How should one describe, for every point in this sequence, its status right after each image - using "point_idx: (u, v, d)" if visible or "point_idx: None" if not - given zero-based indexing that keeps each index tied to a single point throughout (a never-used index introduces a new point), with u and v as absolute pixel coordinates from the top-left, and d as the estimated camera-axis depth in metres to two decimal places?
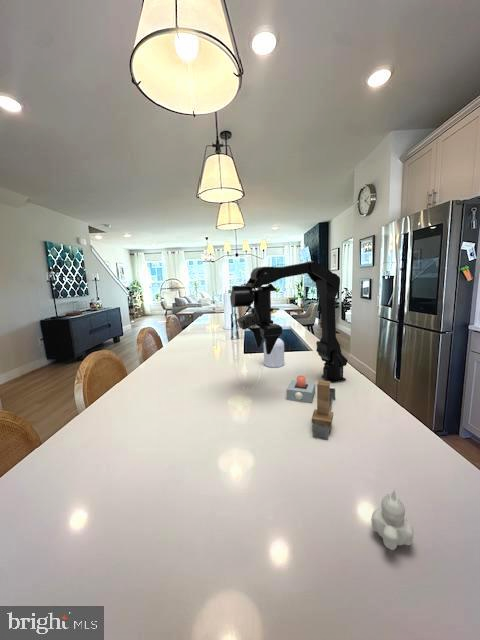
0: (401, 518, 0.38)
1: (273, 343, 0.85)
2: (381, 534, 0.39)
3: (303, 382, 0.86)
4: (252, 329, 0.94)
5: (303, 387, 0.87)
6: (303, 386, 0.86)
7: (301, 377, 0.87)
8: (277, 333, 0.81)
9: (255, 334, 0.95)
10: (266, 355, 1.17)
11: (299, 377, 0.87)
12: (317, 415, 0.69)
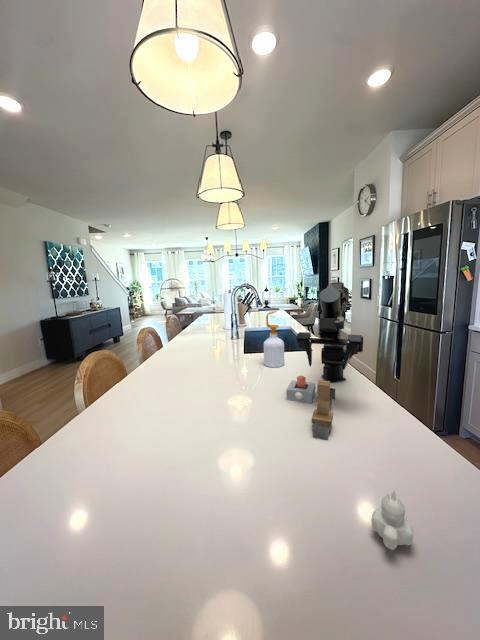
0: (401, 518, 0.38)
1: (349, 359, 0.76)
2: (381, 534, 0.39)
3: (303, 382, 0.86)
4: (310, 342, 0.80)
5: (303, 387, 0.87)
6: (303, 386, 0.86)
7: (301, 377, 0.87)
8: (362, 348, 0.77)
9: (310, 350, 0.80)
10: (266, 355, 1.17)
11: (299, 377, 0.87)
12: (317, 415, 0.69)
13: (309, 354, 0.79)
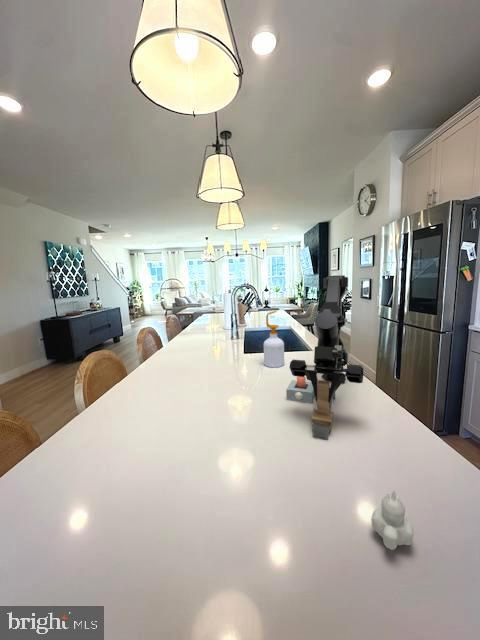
0: (401, 518, 0.38)
1: (335, 390, 0.70)
2: (381, 534, 0.39)
3: (303, 382, 0.86)
4: (316, 373, 0.71)
5: (303, 387, 0.87)
6: (303, 386, 0.86)
7: (301, 377, 0.87)
8: (362, 379, 0.70)
9: (316, 381, 0.71)
10: (266, 355, 1.17)
11: (299, 377, 0.87)
12: (317, 415, 0.69)
13: (315, 387, 0.70)
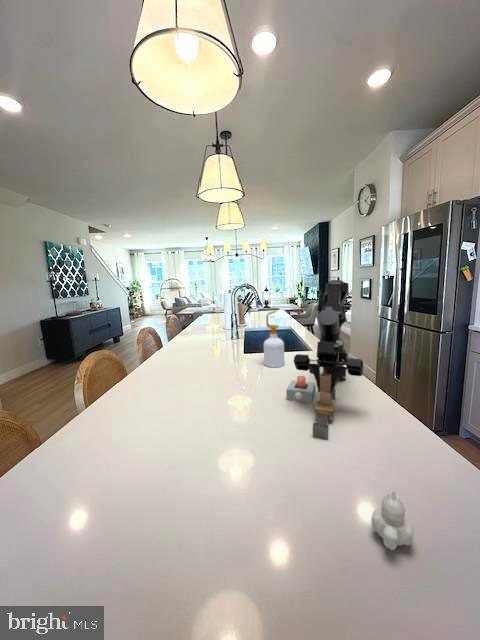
0: (401, 518, 0.38)
1: None
2: (381, 534, 0.39)
3: (303, 382, 0.86)
4: (318, 367, 0.76)
5: (303, 387, 0.87)
6: (303, 386, 0.86)
7: (301, 377, 0.87)
8: None
9: (319, 374, 0.76)
10: (266, 355, 1.17)
11: (299, 377, 0.87)
12: (320, 405, 0.74)
13: (318, 379, 0.75)
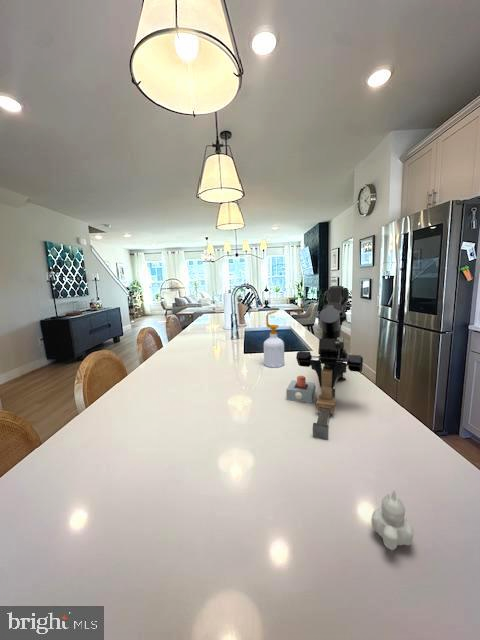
0: (401, 518, 0.38)
1: (337, 378, 0.78)
2: (381, 534, 0.39)
3: (303, 382, 0.86)
4: (320, 363, 0.79)
5: (303, 387, 0.87)
6: (303, 386, 0.86)
7: (301, 377, 0.87)
8: None
9: (321, 370, 0.79)
10: (266, 355, 1.17)
11: (299, 377, 0.87)
12: (321, 400, 0.77)
13: (320, 375, 0.78)
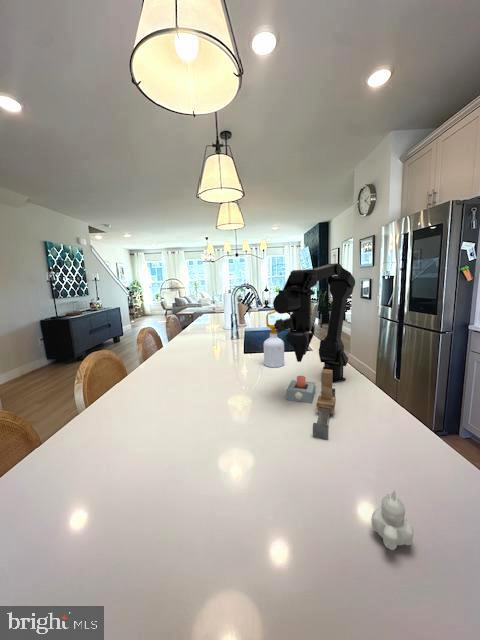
0: (401, 518, 0.38)
1: (302, 351, 0.80)
2: (381, 534, 0.39)
3: (303, 382, 0.86)
4: None
5: (303, 387, 0.87)
6: (303, 386, 0.86)
7: (301, 377, 0.87)
8: (299, 341, 0.76)
9: None
10: (266, 355, 1.17)
11: (299, 377, 0.87)
12: (321, 400, 0.77)
13: None
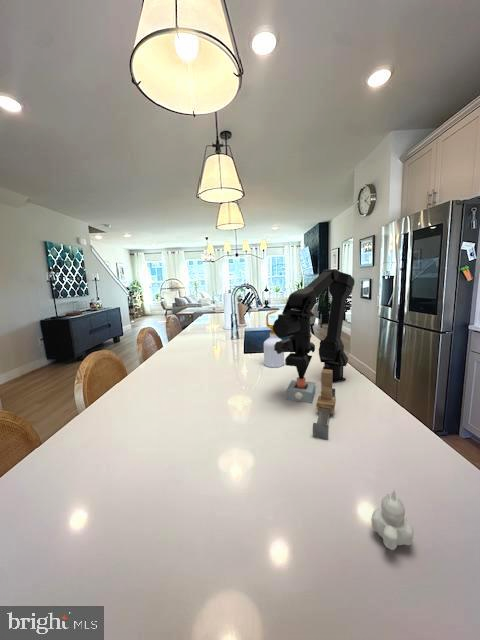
0: (401, 518, 0.38)
1: (304, 369, 0.85)
2: (381, 534, 0.39)
3: (303, 383, 0.86)
4: None
5: (303, 388, 0.87)
6: (303, 387, 0.87)
7: None
8: (299, 365, 0.77)
9: None
10: (266, 355, 1.17)
11: (299, 378, 0.87)
12: (321, 400, 0.77)
13: None
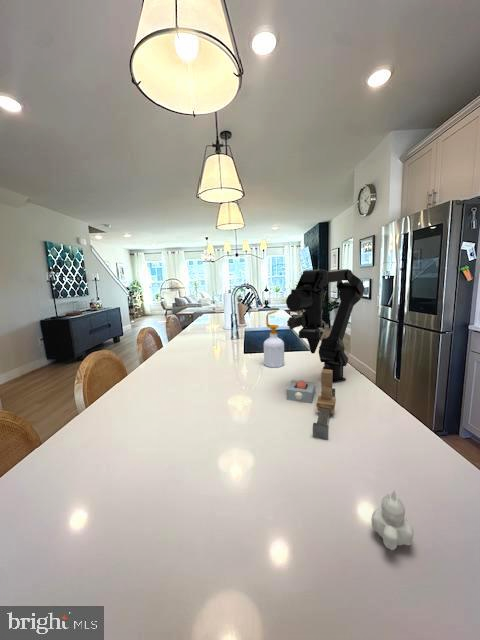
0: (401, 518, 0.38)
1: (316, 343, 0.89)
2: (381, 534, 0.39)
3: (303, 387, 0.87)
4: None
5: None
6: None
7: (301, 382, 0.88)
8: (312, 337, 0.81)
9: None
10: (266, 355, 1.17)
11: (299, 382, 0.88)
12: (321, 400, 0.77)
13: None
